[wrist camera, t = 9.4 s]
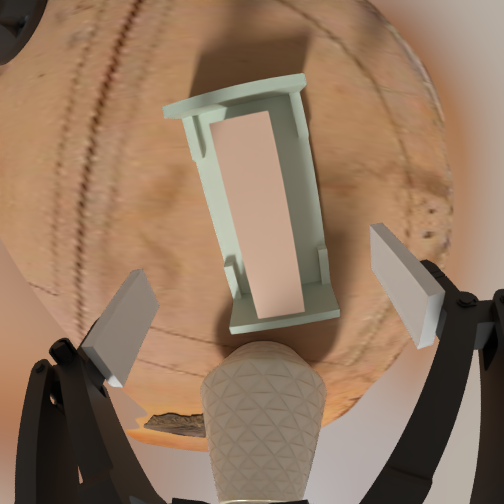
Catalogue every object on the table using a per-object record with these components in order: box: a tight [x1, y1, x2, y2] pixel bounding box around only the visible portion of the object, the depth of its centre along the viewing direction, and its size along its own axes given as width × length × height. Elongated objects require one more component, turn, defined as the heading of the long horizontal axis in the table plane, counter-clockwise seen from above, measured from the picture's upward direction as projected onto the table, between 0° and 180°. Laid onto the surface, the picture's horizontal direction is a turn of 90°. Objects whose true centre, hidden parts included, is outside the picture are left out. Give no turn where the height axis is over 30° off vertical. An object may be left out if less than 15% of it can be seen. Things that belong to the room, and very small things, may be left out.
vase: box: [200, 341, 327, 504], centre depth 31 cm, size 18×17×23 cm
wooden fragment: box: [144, 414, 206, 438], centre depth 51 cm, size 26×11×1 cm, turn 108°
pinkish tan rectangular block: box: [209, 111, 305, 319], centre depth 26 cm, size 18×4×7 cm, turn 12°
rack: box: [162, 73, 340, 334], centre depth 27 cm, size 23×12×7 cm, turn 13°
